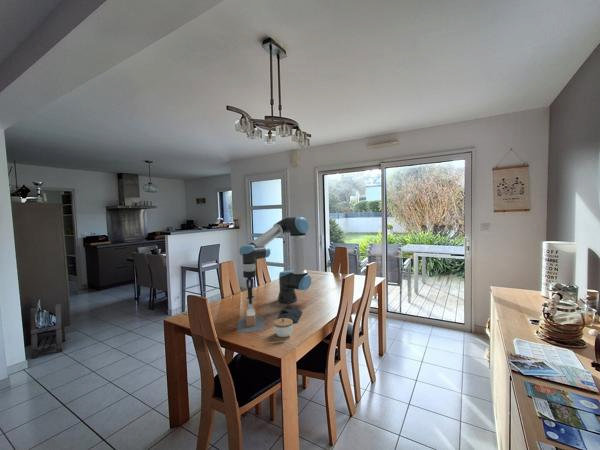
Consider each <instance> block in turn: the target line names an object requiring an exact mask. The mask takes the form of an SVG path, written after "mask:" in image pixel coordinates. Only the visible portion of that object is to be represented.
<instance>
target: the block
mask: <svg viewBox="0 0 600 450" xmlns="http://www.w3.org/2000/svg"><path fill="white" fill-rule="evenodd" d="M255 317H256V308H253V309H246V317H245V318H246V319H247V326H255Z"/></svg>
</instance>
